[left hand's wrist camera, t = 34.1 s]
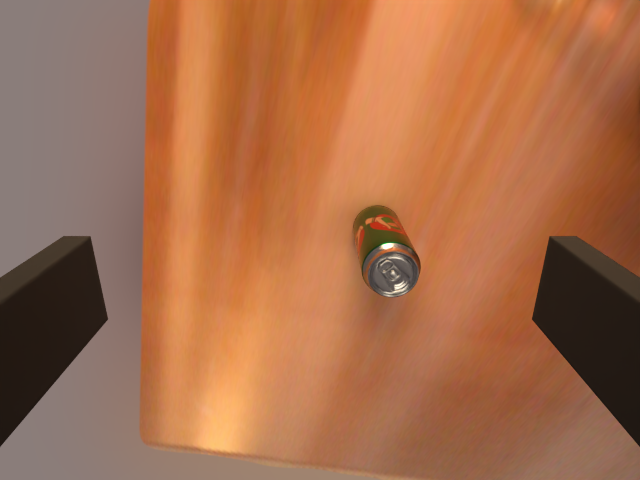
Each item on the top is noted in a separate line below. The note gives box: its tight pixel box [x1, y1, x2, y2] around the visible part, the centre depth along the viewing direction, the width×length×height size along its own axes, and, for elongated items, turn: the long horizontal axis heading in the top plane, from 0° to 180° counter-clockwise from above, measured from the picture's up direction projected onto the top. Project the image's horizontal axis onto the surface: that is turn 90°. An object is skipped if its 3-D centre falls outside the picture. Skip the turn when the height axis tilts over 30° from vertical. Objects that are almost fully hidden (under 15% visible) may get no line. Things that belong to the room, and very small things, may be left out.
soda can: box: [353, 206, 421, 297], centre depth 41 cm, size 5×5×12 cm
